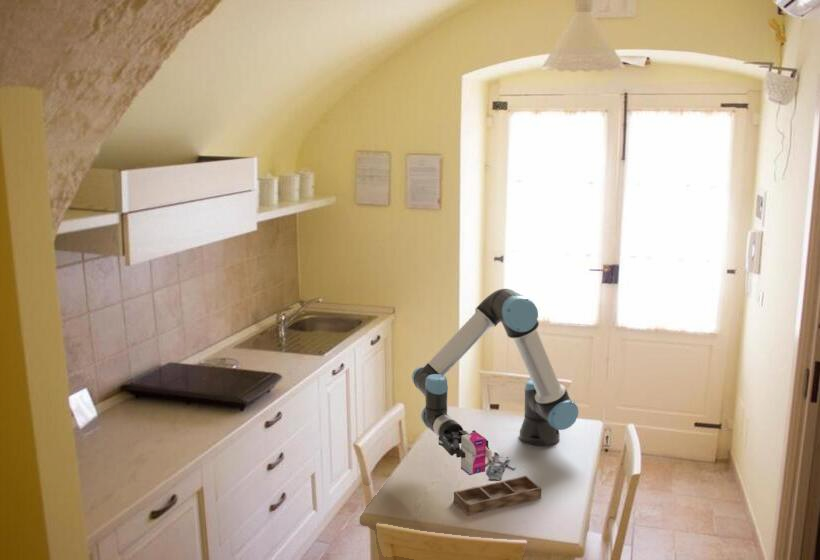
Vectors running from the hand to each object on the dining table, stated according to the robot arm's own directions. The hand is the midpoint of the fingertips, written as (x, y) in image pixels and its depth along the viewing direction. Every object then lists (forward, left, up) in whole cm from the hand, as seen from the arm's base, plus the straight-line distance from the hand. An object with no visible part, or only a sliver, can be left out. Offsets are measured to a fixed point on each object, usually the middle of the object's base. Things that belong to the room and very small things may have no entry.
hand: (481, 457), depth 238 cm
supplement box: (0, -5, -7) cm, 8 cm away
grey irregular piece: (-21, -26, -19) cm, 38 cm away
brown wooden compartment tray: (-9, -5, -19) cm, 21 cm away
